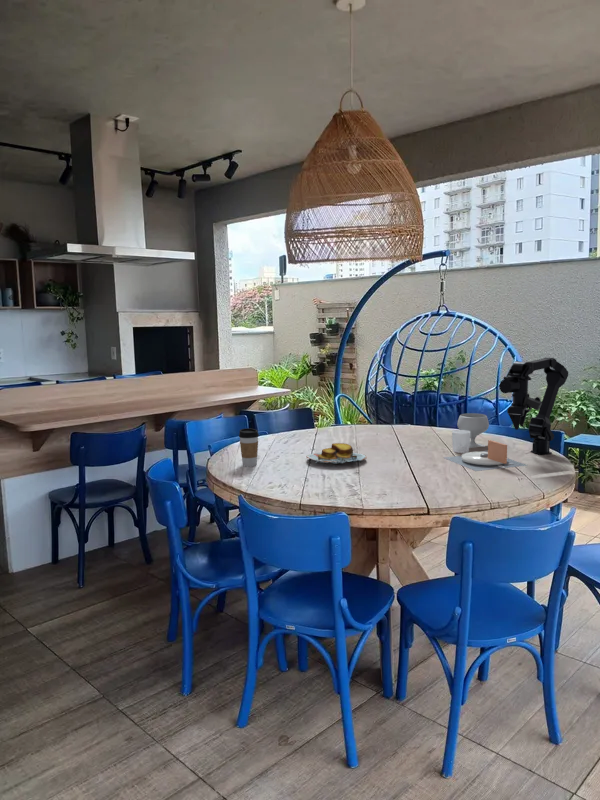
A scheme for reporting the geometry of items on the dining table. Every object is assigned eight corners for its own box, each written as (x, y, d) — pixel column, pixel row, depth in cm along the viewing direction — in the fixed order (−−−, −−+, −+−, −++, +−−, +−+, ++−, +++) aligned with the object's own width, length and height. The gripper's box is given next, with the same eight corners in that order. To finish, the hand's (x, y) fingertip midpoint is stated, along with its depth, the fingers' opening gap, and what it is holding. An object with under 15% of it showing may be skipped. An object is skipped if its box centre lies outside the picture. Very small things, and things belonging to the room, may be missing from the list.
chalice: (465, 442, 294) (466, 411, 292) (493, 446, 285) (494, 414, 283) (451, 448, 284) (452, 416, 282) (480, 452, 275) (480, 419, 272)
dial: (507, 456, 258) (507, 435, 257) (507, 467, 240) (507, 445, 239) (463, 453, 264) (463, 433, 263) (459, 464, 246) (460, 443, 245)
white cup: (470, 456, 268) (471, 433, 266) (452, 455, 269) (452, 433, 268) (469, 452, 275) (469, 430, 274) (451, 451, 277) (451, 429, 275)
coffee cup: (250, 461, 265) (249, 427, 263) (263, 464, 259) (262, 429, 257) (235, 465, 259) (234, 430, 257) (248, 468, 253) (247, 432, 251)
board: (491, 455, 268) (491, 452, 268) (527, 468, 245) (527, 464, 245) (442, 460, 261) (442, 457, 260) (475, 474, 238) (475, 470, 238)
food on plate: (295, 463, 262) (294, 448, 261) (329, 452, 281) (329, 438, 280) (344, 472, 246) (344, 455, 245) (377, 459, 265) (377, 445, 264)
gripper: (536, 395, 247) (534, 433, 249) (545, 389, 262) (543, 425, 264) (507, 393, 252) (506, 430, 255) (518, 388, 268) (516, 423, 270)
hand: (519, 427), depth 261 cm, fingers open, 9 cm apart
